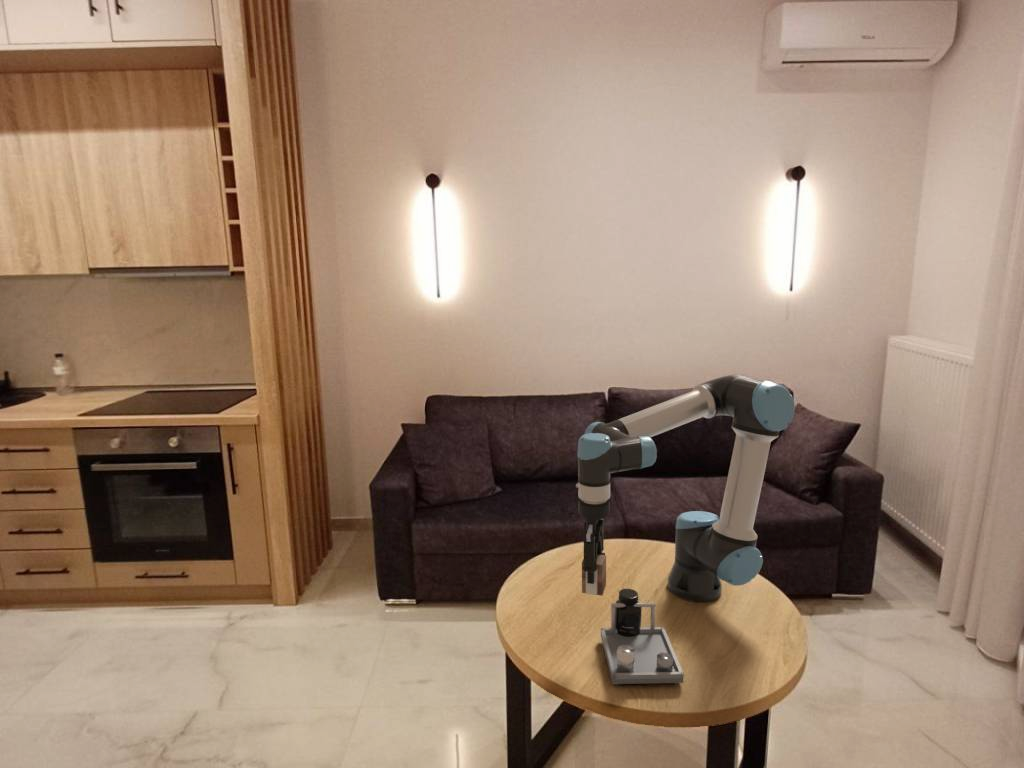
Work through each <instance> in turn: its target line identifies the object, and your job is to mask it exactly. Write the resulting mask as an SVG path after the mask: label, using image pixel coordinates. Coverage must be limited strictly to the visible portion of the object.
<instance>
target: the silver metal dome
mask: <svg viewBox="0 0 1024 768" xmlns="http://www.w3.org/2000/svg"><path fill="white" fill-rule="evenodd" d="M656 668H657V671H658V672H672V671H673V657H672V656H671V655H670V654H668V653H659V654H658V655H657V667H656Z"/></svg>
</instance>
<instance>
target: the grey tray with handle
mask: <svg viewBox="0 0 1024 768" xmlns="http://www.w3.org/2000/svg"><path fill="white" fill-rule="evenodd" d="M625 606H626V605H625V604H623V603H616V602H614V603H610V607H611V609H610V610H611V611H610V613H611V615H610V617H611V618H610V627H608V628H606V627H605V628H603V627H601V628H600V638H601V642H602V646H603V647H602V648H603V650H604V651H603V652H604V655H605V658H606V663H607V666H608V671H609V674H610V675H609V676H610V679H611V682H612V685H618V686H623V685H628V684H629V685H632V684H633V685H635V684H637V685H638V684H639V685H640V684H641V685H642V684H671V685H676V684H684V675H685V674H684V672H683V669H682V667H681V665H680V662H679V660H678V658H677V655H676V653H675V650H674V648H673V645H672V643H671V640H670V638H669V636H668V634H667V632H666V629H665V627H664V626H659V627H658V626H656V625H655V623H656V622H655V621H656V602H639V603H636V604H635V605H634V606H635V607H642V608H650V627H649V626H648V627H645V626H644V627H641V628H640V633H639V634H638V635H636V636H633V637H625V636H621V635H619V634H617V629H616V628H615V607H625ZM655 626H656V627H655ZM621 645H628V646H631V647H633V648H634V650H635V665H634V673H619V672H618V671H617V648H618V647H619V646H621ZM659 653H668V654H670V655H671V656H672V657H673V671H672V672H658V671H657V668H656V667H657V655H658V654H659Z"/></svg>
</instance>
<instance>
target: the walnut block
mask: <svg viewBox="0 0 1024 768" xmlns="http://www.w3.org/2000/svg"><path fill="white" fill-rule="evenodd" d="M583 566H584V558H583V559H582V561H581V568H582V567H583ZM596 568H597V595H596V596H602V597H603V594H604V593H605V590H606V587H607V555H606V554H605V555H599V554H597V563H596ZM581 593H582V594H586V571H584V570H582V569H581Z"/></svg>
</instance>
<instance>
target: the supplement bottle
mask: <svg viewBox="0 0 1024 768" xmlns="http://www.w3.org/2000/svg"><path fill="white" fill-rule="evenodd" d="M615 603H623V604H625V605H626V606H625V607H615V628H616V629H617V634H619V635H621V636H625V637H633V636H636V635H638V634H639V633H640V628H642V611H643V609H642V608H643V607H635V606H634V605H635V604H636V603H640V602H639V592H638V591H636V590H634V589H633V588H622V589H620V590H619V591H618V599H617V600H616V601H615Z"/></svg>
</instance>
